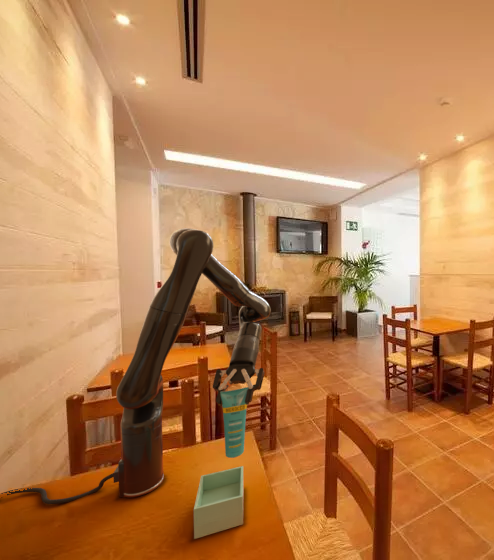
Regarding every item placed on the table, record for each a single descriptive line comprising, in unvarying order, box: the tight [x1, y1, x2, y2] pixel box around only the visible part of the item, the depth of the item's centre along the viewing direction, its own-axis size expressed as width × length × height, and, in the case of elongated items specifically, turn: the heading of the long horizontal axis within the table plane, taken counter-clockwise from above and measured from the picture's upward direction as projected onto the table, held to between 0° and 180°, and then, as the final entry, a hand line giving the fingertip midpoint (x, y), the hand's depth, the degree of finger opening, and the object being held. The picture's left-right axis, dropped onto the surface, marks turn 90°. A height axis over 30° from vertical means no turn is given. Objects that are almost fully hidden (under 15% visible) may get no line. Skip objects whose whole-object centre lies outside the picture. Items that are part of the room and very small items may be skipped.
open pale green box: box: [193, 465, 245, 540], centre depth 76 cm, size 10×12×7 cm
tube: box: [220, 386, 249, 459], centre depth 88 cm, size 7×5×19 cm, turn 124°
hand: (233, 404), depth 86 cm, fingers closed on tube, 7 cm apart
